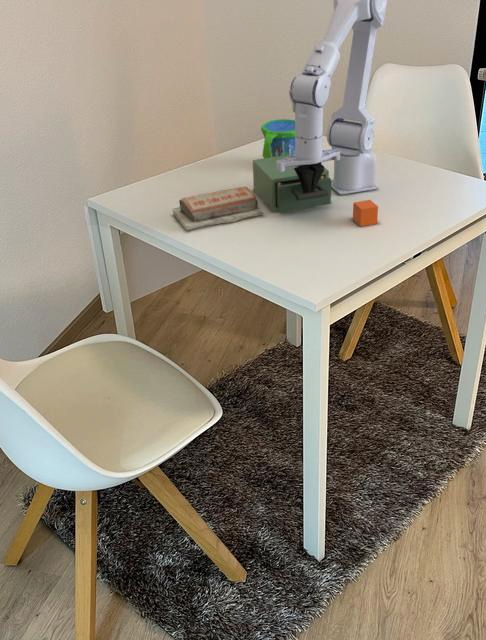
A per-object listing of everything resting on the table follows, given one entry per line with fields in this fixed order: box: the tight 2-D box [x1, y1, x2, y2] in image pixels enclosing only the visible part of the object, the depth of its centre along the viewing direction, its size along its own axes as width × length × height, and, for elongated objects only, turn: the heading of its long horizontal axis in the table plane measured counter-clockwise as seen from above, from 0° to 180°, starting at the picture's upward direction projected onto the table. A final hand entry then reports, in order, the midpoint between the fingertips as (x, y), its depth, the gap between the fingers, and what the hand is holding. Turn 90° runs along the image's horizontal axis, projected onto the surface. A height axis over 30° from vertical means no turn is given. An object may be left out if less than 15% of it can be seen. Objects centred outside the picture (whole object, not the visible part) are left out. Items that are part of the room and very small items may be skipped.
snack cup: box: [260, 118, 295, 159], centre depth 186 cm, size 16×10×10 cm
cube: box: [352, 199, 379, 227], centre depth 157 cm, size 4×4×4 cm
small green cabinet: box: [252, 154, 330, 213], centre depth 169 cm, size 14×14×8 cm
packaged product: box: [171, 186, 263, 231], centre depth 161 cm, size 18×5×10 cm
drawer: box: [275, 175, 332, 213], centre depth 164 cm, size 17×12×6 cm
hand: (308, 196), depth 159 cm, fingers closed, pressing on drawer
